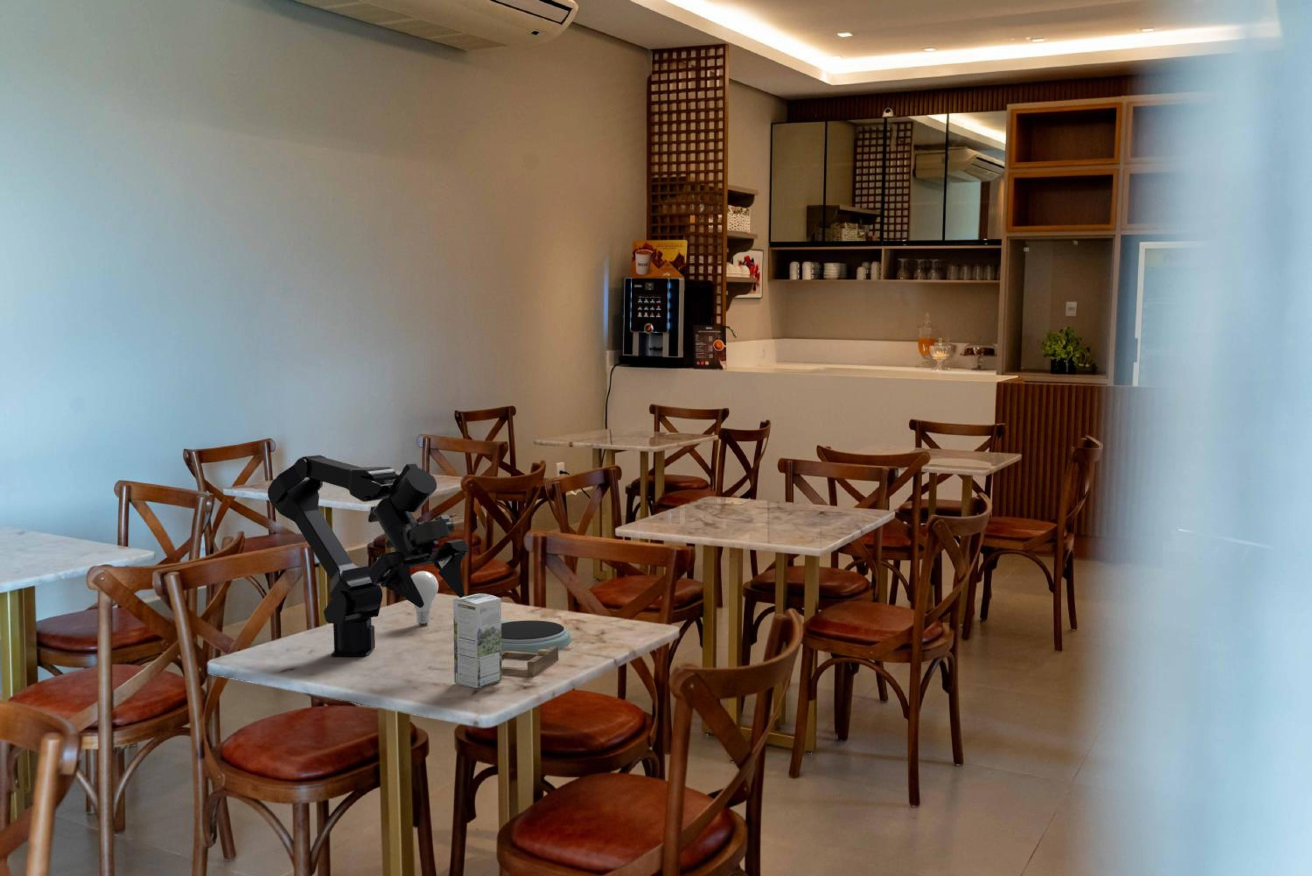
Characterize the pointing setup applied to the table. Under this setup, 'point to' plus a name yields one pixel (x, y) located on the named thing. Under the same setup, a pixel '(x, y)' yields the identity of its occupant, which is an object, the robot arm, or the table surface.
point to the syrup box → (477, 640)
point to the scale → (532, 636)
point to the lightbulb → (425, 594)
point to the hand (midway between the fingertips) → (442, 601)
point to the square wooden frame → (531, 661)
